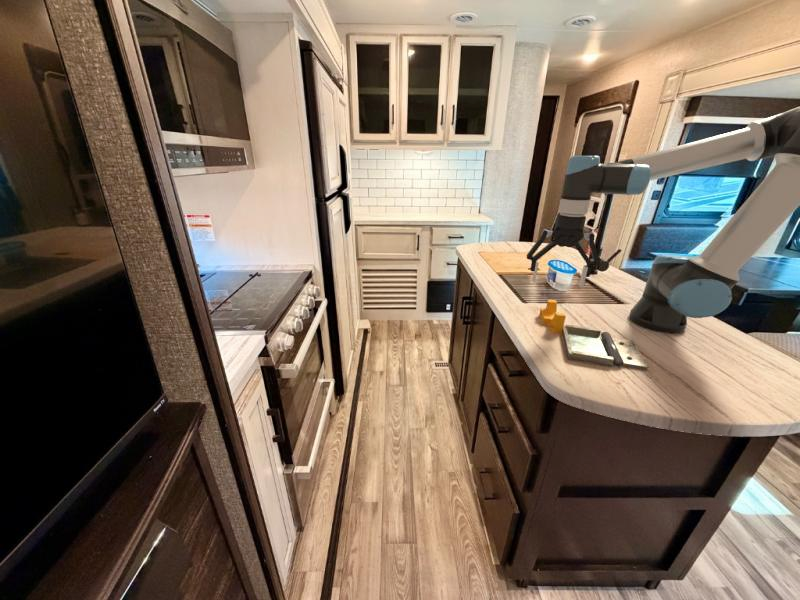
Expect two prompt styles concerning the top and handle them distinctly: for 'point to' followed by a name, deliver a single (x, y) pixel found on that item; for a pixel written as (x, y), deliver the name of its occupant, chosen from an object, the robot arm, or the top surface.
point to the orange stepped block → (552, 317)
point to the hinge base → (600, 348)
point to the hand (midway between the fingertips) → (556, 283)
